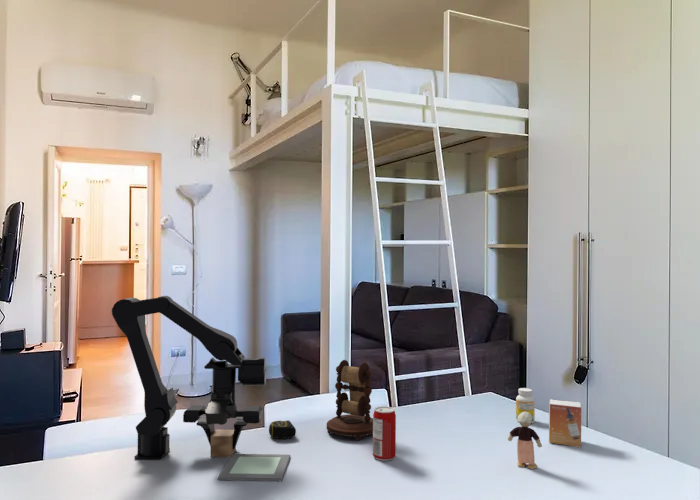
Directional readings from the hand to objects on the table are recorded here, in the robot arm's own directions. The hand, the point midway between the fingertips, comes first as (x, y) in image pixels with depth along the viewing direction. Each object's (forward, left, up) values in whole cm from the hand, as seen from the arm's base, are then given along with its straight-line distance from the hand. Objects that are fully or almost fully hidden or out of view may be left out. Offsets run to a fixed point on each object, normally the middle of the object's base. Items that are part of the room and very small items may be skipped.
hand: (223, 448), depth 131 cm
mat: (+10, -9, -1) cm, 13 cm away
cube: (0, 0, -1) cm, 1 cm away
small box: (+89, +12, -1) cm, 90 cm away
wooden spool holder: (+32, +17, -1) cm, 36 cm away
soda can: (+40, -1, -1) cm, 40 cm away
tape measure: (+13, +14, -1) cm, 19 cm away
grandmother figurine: (+73, -5, -1) cm, 73 cm away
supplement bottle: (+84, +30, -1) cm, 89 cm away
